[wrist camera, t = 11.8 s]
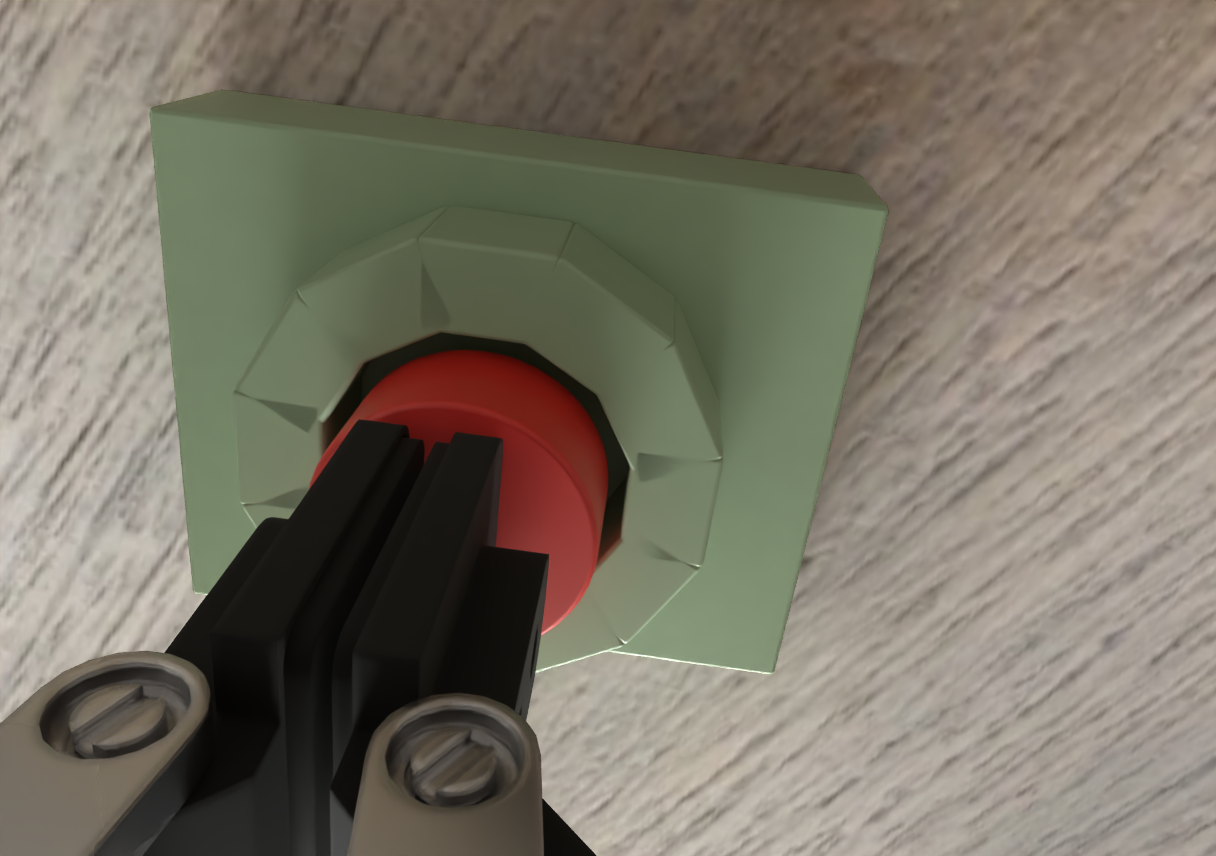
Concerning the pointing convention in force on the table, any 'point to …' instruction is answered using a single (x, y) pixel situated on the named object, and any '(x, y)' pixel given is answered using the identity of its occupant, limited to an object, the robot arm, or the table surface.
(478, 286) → the button block
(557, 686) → the table surface
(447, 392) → the button
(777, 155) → the table surface
